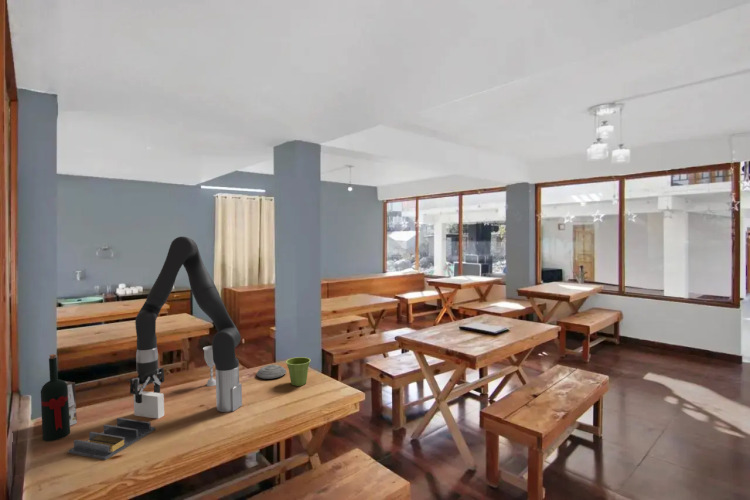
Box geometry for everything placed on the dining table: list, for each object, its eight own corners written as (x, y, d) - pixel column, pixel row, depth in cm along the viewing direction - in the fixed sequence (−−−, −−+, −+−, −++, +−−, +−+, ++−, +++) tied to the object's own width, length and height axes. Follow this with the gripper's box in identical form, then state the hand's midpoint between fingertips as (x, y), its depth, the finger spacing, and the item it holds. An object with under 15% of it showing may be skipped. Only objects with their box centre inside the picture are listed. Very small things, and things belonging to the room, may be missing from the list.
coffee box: (77, 422, 152) (76, 382, 152) (59, 430, 146) (57, 388, 146) (62, 419, 155) (60, 379, 155) (43, 427, 149) (41, 385, 149)
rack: (155, 429, 146) (155, 420, 146) (105, 460, 127) (105, 449, 127) (121, 424, 150) (121, 415, 150) (68, 453, 131) (68, 442, 131)
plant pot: (316, 382, 190) (315, 360, 189) (296, 390, 181) (295, 366, 181) (301, 377, 198) (300, 355, 197) (281, 384, 189) (280, 361, 188)
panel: (164, 415, 158) (163, 393, 157) (158, 418, 155) (157, 396, 155) (140, 412, 161) (139, 390, 161) (134, 415, 158) (133, 393, 158)
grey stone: (261, 370, 209) (261, 360, 209) (289, 370, 209) (289, 360, 208) (252, 381, 194) (251, 370, 194) (282, 381, 194) (281, 370, 193)
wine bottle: (45, 446, 136) (41, 361, 134) (41, 436, 142) (36, 355, 141) (73, 437, 141) (69, 355, 140) (68, 428, 148) (64, 350, 147)
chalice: (222, 382, 191) (221, 346, 191) (211, 387, 185) (210, 350, 184) (212, 380, 194) (210, 345, 194) (200, 385, 188) (199, 348, 188)
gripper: (139, 365, 149) (140, 407, 150) (168, 354, 163) (169, 392, 164) (124, 363, 152) (125, 404, 152) (154, 353, 165) (155, 390, 166)
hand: (148, 398), depth 158 cm, fingers open, 8 cm apart
